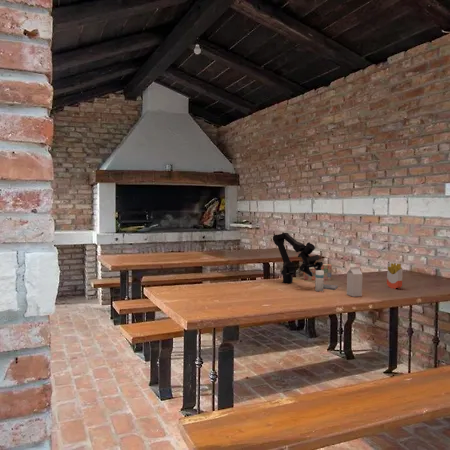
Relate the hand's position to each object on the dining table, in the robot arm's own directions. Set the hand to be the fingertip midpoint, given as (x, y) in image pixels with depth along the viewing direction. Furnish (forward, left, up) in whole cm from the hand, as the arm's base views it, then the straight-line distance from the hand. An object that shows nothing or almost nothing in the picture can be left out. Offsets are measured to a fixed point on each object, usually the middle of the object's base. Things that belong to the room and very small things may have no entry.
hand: (317, 275), depth 297 cm
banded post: (+2, -1, -10) cm, 10 cm away
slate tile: (+5, +12, -10) cm, 16 cm away
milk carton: (+26, -5, -10) cm, 29 cm away
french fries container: (+49, +33, -10) cm, 60 cm away
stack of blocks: (-8, +40, -10) cm, 43 cm away
